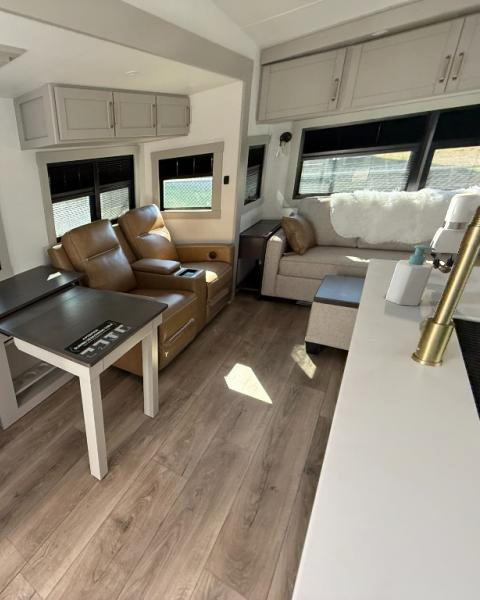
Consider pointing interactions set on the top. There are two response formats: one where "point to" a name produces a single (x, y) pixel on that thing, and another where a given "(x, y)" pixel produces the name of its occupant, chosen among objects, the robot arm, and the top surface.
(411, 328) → the top surface
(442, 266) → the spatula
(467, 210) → the robot arm
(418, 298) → the soap bottle
